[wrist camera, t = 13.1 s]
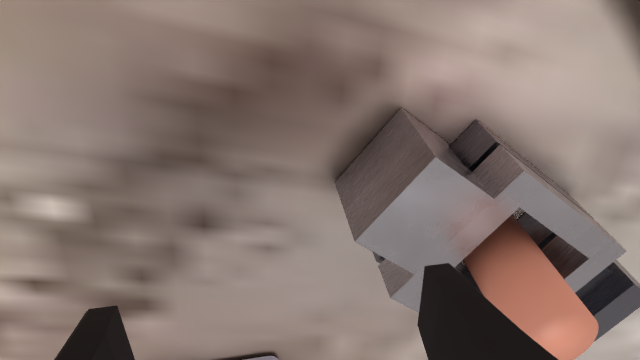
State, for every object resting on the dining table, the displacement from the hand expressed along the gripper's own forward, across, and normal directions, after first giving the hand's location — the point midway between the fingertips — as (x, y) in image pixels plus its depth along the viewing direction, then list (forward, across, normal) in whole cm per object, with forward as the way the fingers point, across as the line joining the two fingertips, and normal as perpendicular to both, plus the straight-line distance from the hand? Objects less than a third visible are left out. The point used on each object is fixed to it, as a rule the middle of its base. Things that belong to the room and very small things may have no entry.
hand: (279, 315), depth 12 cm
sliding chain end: (+10, -9, +5) cm, 14 cm away
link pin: (+10, -10, +6) cm, 16 cm away
